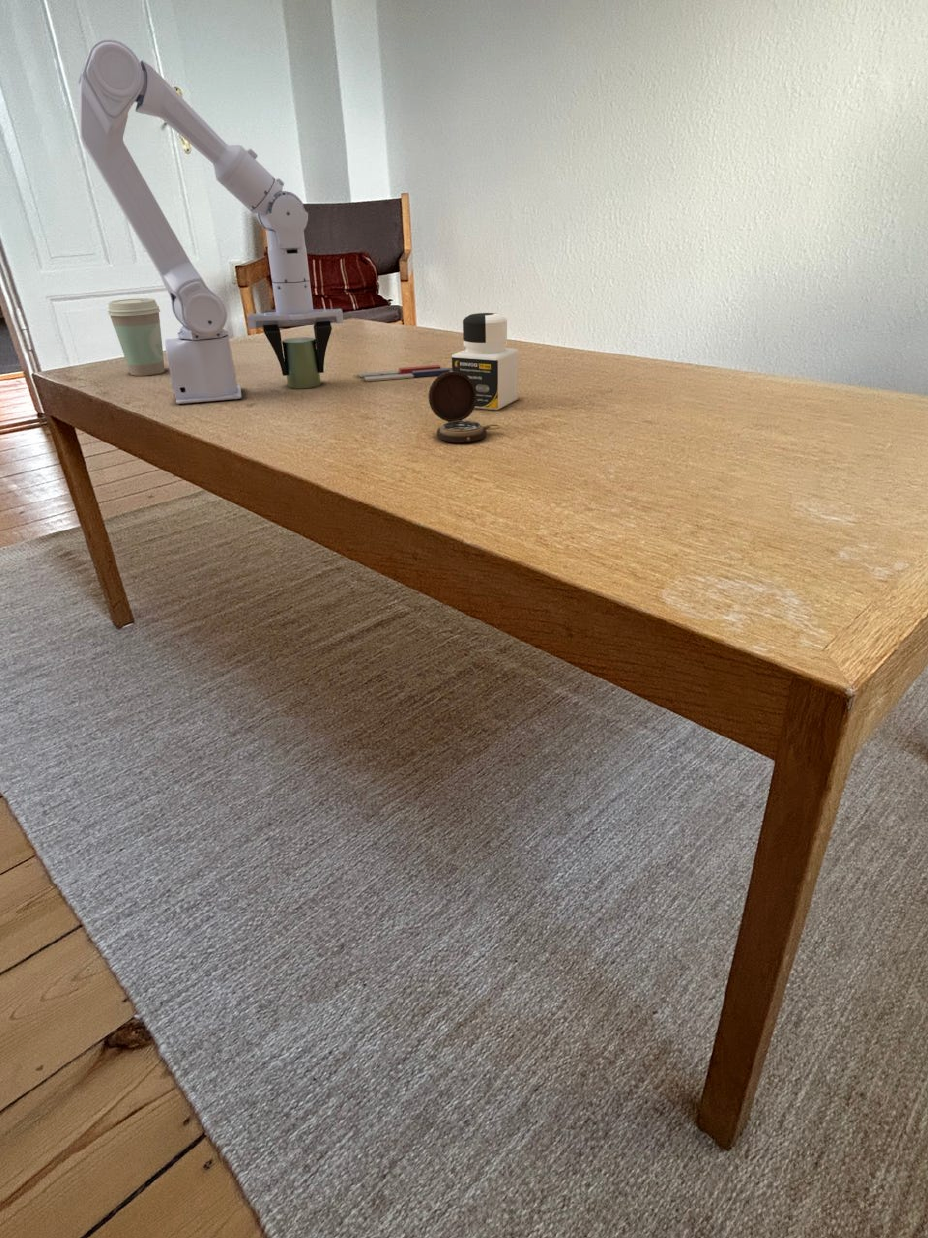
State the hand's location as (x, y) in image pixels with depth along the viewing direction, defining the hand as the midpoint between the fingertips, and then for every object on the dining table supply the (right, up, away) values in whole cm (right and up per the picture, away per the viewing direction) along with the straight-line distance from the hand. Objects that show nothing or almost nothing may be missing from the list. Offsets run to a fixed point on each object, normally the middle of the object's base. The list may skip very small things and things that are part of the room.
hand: (302, 373), depth 121 cm
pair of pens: (+16, +2, +7) cm, 17 cm away
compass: (+27, -17, -27) cm, 42 cm away
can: (0, -2, +1) cm, 2 cm away
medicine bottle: (+29, -9, -13) cm, 33 cm away
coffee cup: (-31, +4, +14) cm, 34 cm away
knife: (+17, +1, +4) cm, 18 cm away
